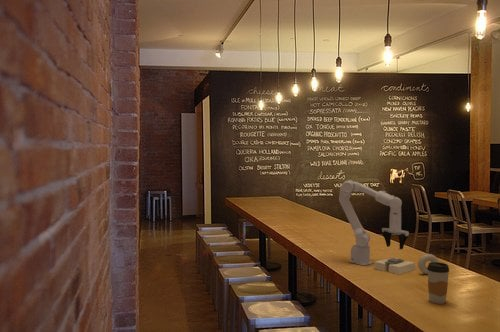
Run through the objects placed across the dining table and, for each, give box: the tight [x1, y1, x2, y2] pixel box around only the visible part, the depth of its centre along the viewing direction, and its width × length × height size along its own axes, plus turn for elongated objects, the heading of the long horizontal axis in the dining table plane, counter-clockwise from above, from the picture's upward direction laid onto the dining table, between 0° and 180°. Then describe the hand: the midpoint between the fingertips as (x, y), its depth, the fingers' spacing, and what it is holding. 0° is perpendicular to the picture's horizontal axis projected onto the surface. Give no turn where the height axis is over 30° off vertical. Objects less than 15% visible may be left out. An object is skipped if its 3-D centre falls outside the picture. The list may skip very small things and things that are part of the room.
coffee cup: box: [427, 261, 450, 305], centre depth 206 cm, size 8×8×15 cm
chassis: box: [374, 257, 416, 275], centre depth 257 cm, size 14×14×4 cm
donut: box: [417, 253, 440, 275], centre depth 247 cm, size 10×4×10 cm, turn 91°
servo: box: [385, 257, 405, 271], centre depth 257 cm, size 4×11×6 cm, turn 132°
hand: (394, 247), depth 264 cm, fingers open, 7 cm apart
